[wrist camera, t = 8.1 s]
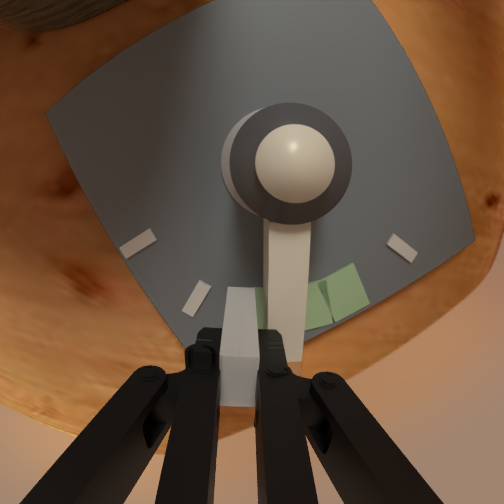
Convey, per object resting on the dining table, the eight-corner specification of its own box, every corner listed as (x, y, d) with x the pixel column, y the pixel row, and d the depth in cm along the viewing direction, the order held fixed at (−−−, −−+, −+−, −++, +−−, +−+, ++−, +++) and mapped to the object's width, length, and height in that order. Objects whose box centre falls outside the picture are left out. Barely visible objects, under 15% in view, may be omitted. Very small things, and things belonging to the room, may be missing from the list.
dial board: (336, -31, 14) (341, -41, 12) (466, 236, 19) (477, 241, 18) (54, 114, 16) (43, 112, 15) (213, 371, 22) (211, 383, 21)
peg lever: (233, 117, 16) (227, 98, 10) (324, 120, 16) (358, 104, 10) (237, 336, 19) (235, 394, 14) (314, 334, 19) (334, 388, 14)
